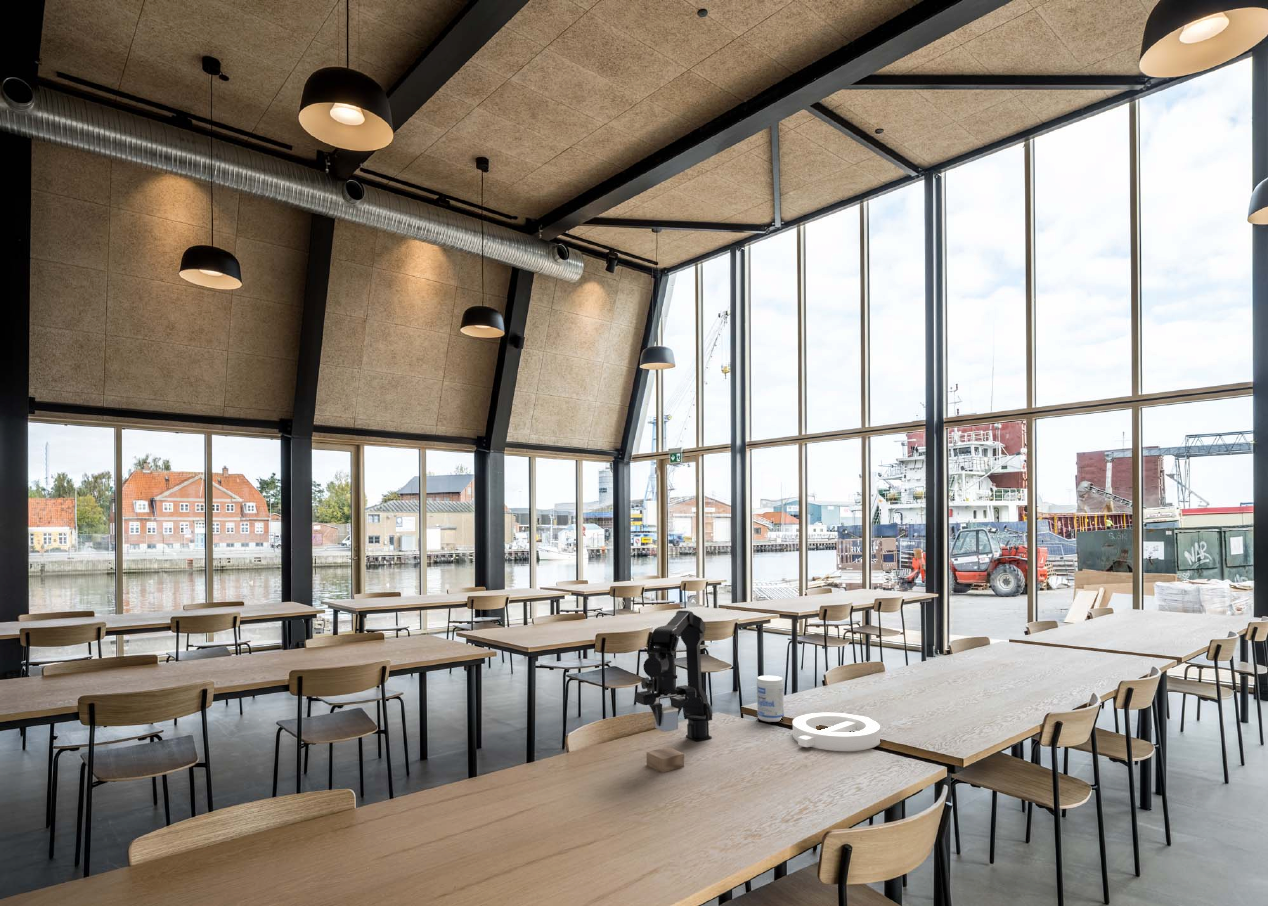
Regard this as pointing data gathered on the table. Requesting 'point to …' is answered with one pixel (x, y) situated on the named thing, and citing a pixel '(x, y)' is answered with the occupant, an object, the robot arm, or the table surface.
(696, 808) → the table surface
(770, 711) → the supplement tub
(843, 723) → the ring with crossbar
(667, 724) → the white block
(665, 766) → the walnut block
